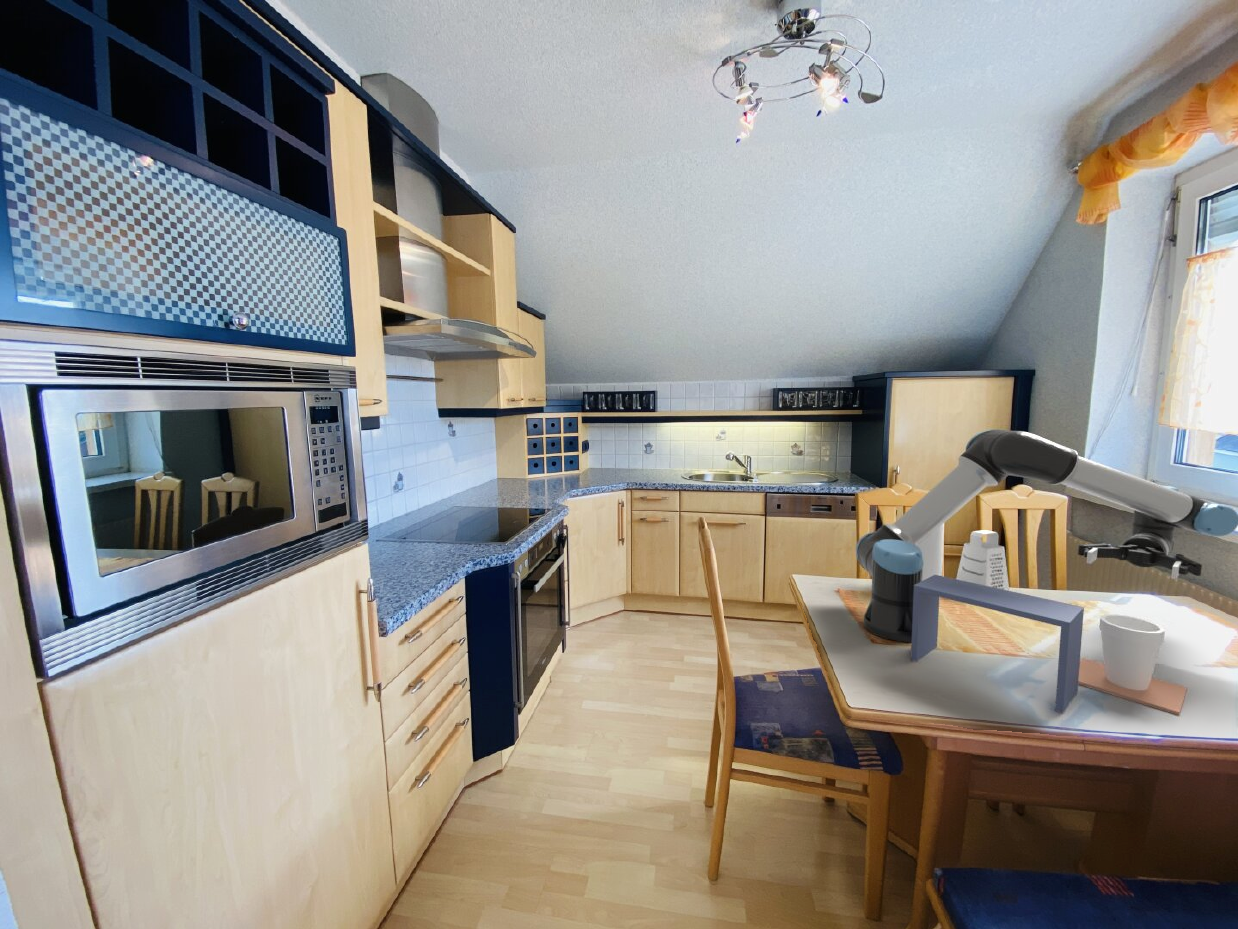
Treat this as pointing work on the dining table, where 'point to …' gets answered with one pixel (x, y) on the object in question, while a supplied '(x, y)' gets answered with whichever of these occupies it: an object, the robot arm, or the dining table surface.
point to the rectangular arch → (1003, 602)
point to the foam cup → (1130, 650)
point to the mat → (1155, 696)
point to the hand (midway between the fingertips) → (1129, 565)
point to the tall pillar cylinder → (932, 553)
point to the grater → (983, 561)
